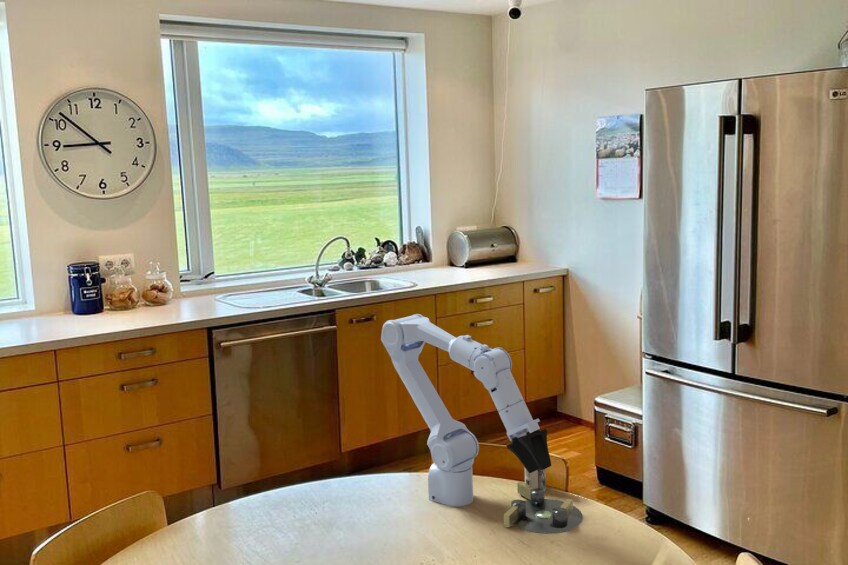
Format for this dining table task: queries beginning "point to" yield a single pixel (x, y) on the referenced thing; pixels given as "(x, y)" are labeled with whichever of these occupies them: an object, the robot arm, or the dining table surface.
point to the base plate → (546, 518)
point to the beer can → (536, 479)
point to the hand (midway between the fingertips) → (540, 469)
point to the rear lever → (531, 494)
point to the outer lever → (562, 513)
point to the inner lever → (515, 512)
